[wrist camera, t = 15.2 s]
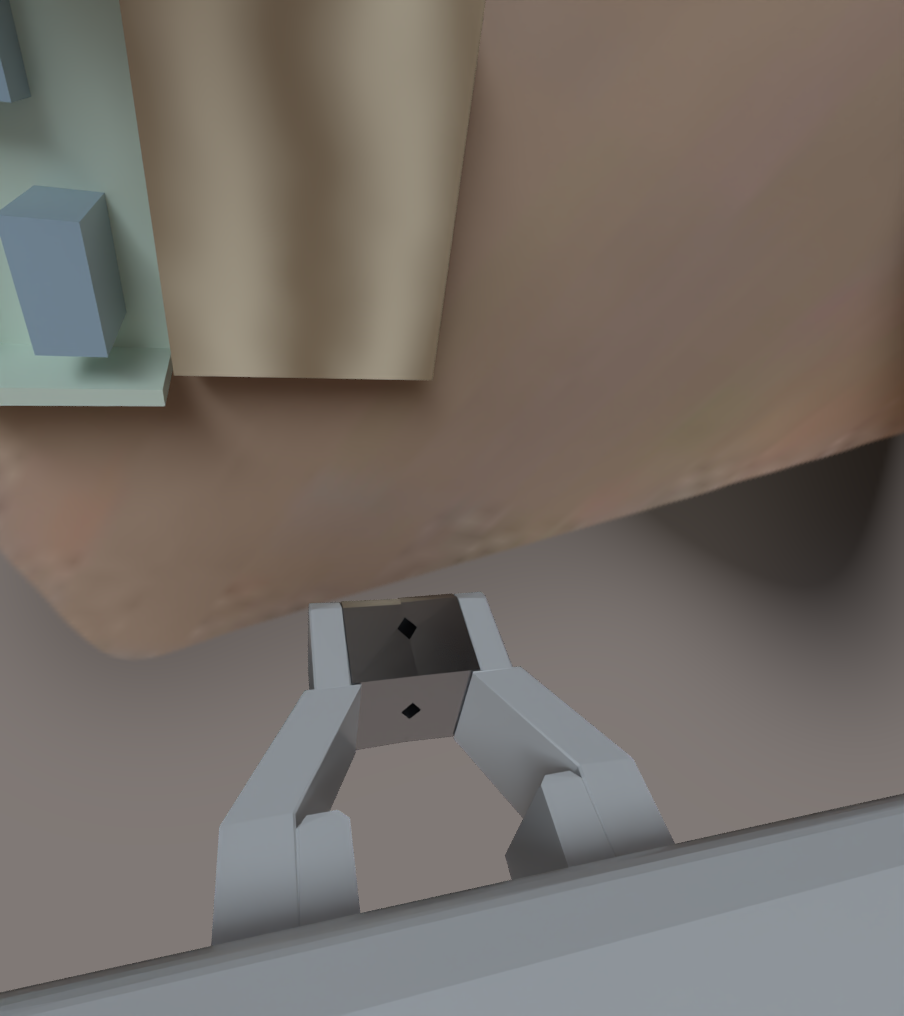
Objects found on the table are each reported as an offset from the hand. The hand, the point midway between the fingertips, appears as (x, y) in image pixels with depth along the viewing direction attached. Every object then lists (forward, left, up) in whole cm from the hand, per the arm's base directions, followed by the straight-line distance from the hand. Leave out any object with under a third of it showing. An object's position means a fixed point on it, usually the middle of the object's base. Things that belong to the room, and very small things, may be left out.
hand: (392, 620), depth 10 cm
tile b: (+8, +1, -21) cm, 22 cm away
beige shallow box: (0, -3, -24) cm, 24 cm away
